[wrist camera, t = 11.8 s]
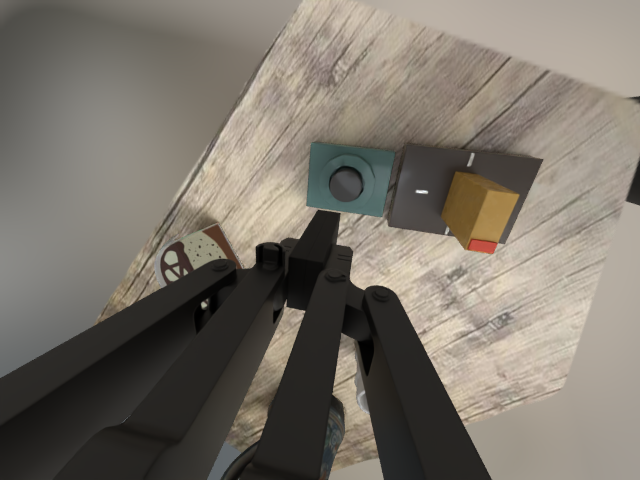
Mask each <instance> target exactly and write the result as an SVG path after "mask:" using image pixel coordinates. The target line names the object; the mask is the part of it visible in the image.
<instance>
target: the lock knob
mask: <svg viewBox="0 0 640 480" xmlns="http://www.w3.org/2000/svg"><path fill="white" fill-rule="evenodd" d="M519 195H520V194H518V193H516V192H514V191H512V190H510V189H508V188H505V187H503V186H501V185H499V184H497V183H495V182H493V181H491V180H489V179H487V178H484V177H482V176H480V175H478V174H472V173H465V172H457V171H456V172H455V174H454V177H453V181H452V184H451V187H450V190H449V193H448V196H447V199H446V202H445V205H444V208H443V211H442V214H441V218H442V219H443V221H444V222H445V223H446V225H447V226H448V228H449V229H450V230H451V232H452V233H453V234H454V236H455V237H456V238H457V240H458V241H459V242H460V244H461V245H462V246H463V248H464V249H465V250H469V251H476V252H482V253H488V254H493V253H494V251H495V249H496V246H497V244H498V242H499V239H500V237H501V235H502V233H503V231H504V228H505V226H506V224H507V222H508V220H509V217H510V215H511V213H512V211H513V208H514V206H515V204H516V202H517V200H518V197H519Z"/></svg>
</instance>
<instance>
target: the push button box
mask: <svg viewBox="0 0 640 480" xmlns="http://www.w3.org/2000/svg"><path fill="white" fill-rule="evenodd" d="M394 158H395V151H394V150H385V149H376V148H368V147H359V146H350V145H341V144H332V143H324V142H312V143H311V149H310V163H309V177H308V191H307V205H306V206H309V207H316V208H322V209H329V210H336V211H343V212H350V213H356V214H363V215H370V216H377V217H382V215H383V210H384V205H385V200H386V196H387V191H388V186H389V181H390V177H391V172H392V167H393V162H394ZM345 168H349V169H353V170H355V171H356V172H357V173H358V174H359V175H360V177H361V180H362V187H361V192H360V194H359V195H358V197H357V198H356V199H354V200H353V201H350V202H341V201H338V200H337V199H335V198H334V197H333V195H332V194H331V192H330V181H331V179H332V177H333V176H334V175H335V173H336V172H338V171H339V170H341V169H345Z"/></svg>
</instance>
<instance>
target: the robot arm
mask: <svg viewBox="0 0 640 480" xmlns="http://www.w3.org/2000/svg"><path fill="white" fill-rule="evenodd" d="M340 214H341V213H337V212H330V211H323V210H318V211H317V212H316V214H315V215H314V217H313V219H312V220H311V222H310V223H309V225H308V227H307V228H306V230H305V231H304V233H303V235H302V236H301V238H300V239H294V238H286V239H284V240H282V241H281V242H280V244H279V243H274V242H267V243H262V244H259V245H257V246H256V264H255V265H254V266H253V267H252V268H249V269H237V266H236V263H235V262H234V261H232V260H230V259H224V258H223V259H222V258H220V259H215V260H212V261H210V262H208V263H206V264H204V265H202V266H200V267H199V268H197V269H195V270H193V271H191V272H190V273H188V274H186V275H184V276H182V277H181V278H179V279H177V280H175V281H173V282H172V283H170V284H168V285H166V286H165V287H163V288H161V289H159V290H157V291H156V292H154V293H152V294H150V295H148V296H147V297H145V298H143V299H141V300H139V301H138V302H136V303H134V304H132V305H131V306H129V307H127V308H125V309H123V310H122V311H120V312H118V313H116V314H114V315H113V316H111V317H109V318H107V319H105V320H104V321H102V322H100V323H98V324H97V325H95V326H93V327H91V328H89V329H88V330H86V331H84V332H82V333H80V334H79V335H77V336H75V337H73V338H71V339H70V340H68V341H66V342H64V343H63V344H61V345H59V346H57V347H55V348H54V349H52V350H50V351H48V352H47V353H45V354H43V355H41V356H39V357H37V358H36V359H34V360H32V361H30V362H29V363H27V364H25V365H23V366H21V367H20V368H18V369H16V370H14V371H12V372H11V373H9V374H7V375H5V376H4V377H2V378H0V480H207V478H208V476H209V474H210V471H211V469H212V467H213V465H214V463H215V461H216V459H217V456H218V454H219V452H220V450H221V448H222V446H223V443H224V441H225V439H226V437H227V435H228V433H229V430H230V428H231V426H232V424H233V422H234V420H235V417H236V415H237V413H238V411H239V409H240V407H241V404H242V402H243V400H244V398H245V396H246V393H247V391H248V389H249V387H250V385H251V383H252V380H253V378H254V376H255V374H256V372H257V370H258V367H259V365H260V363H261V361H262V359H263V357H264V354H265V352H266V350H267V348H268V346H269V344H270V341H271V339H272V337H273V335H274V333H275V331H276V328H277V326H278V324H279V322H280V320H281V318H282V315H283V311H284V303H285V301H286V299H287V307H289V308H294V309H299V310H304V311H306V312H305V314H304V317H303V320H302V323H301V326H300V328H299V331H298V334H297V337H296V340H295V342H294V345H293V348H292V351H291V354H290V356H289V359H288V362H287V365H286V368H285V370H284V373H283V376H282V379H281V382H280V384H279V387H278V390H277V393H276V396H275V398H274V401H273V404H272V407H271V410H270V412H269V415H268V418H267V421H266V424H265V426H264V429H263V432H262V435H261V438H260V440H259V443H258V446H257V449H256V452H255V454H254V457H253V459H252V461H251V462H250V463H249V464H248V465H247V466H246V467H245V469H244V471H243V472H242V474H241V476H240V478H239V480H320V473H321V466H322V460H323V453H324V446H325V440H326V433H327V426H328V419H329V413H330V406H331V399H332V393H333V386H334V379H335V372H336V366H337V359H338V352H339V346H340V339H341V333H343V334H345V335H347V336H349V337H351V338H353V339H355V341H354V344H355V348H356V353H357V358H358V362H359V367H360V371H361V376H362V381H363V385H364V390H365V394H366V399H367V404H368V408H369V413H370V417H371V422H372V427H373V431H374V436H375V441H376V445H377V450H378V454H379V459H380V464H381V468H382V473H383V477H384V480H492V479H491V477H490V475H489V473H488V472H487V469H486V468H485V465H484V464H483V462H482V460H481V458H480V456H479V454H478V452H477V450H476V448H475V446H474V444H473V442H472V440H471V438H470V436H469V434H468V432H467V431H466V429H465V427H464V425H463V423H462V421H461V419H460V417H459V415H458V413H457V411H456V409H455V407H454V405H453V403H452V401H451V399H450V397H449V395H448V394H447V392H446V390H445V388H444V386H443V384H442V382H441V380H440V378H439V376H438V374H437V372H436V370H435V368H434V366H433V364H432V362H431V360H430V359H429V357H428V355H427V353H426V351H425V349H424V347H423V345H422V343H421V341H420V339H419V337H418V335H417V333H416V331H415V329H414V327H413V325H412V324H411V322H410V320H409V318H408V316H407V314H406V312H405V310H404V308H403V306H402V304H401V302H400V300H399V298H398V296H397V295H396V294H395V293H394V292H393V291H392V290H390V289H389V288H386V287H383V286H378V285H375V286H370V287H367V288H366V289H365V290H362V289H360V288H358V287H356V286H355V285H354V284H353V283H352V282H351V281H350V270H351V263H352V256H353V251H352V249H351V248H350V247H347V246H341V245H336V243H337V236H338V229H339V221H340ZM205 300H208V305H207V306H206V307H204V308H202V306H201V303H203V302H204V301H205ZM128 416H129V417H128ZM127 417H128V418H127ZM126 418H127V419H126ZM125 419H126V420H125ZM124 420H125V422H123V421H124ZM122 422H123V423H122Z"/></svg>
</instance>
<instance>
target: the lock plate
mask: <svg viewBox="0 0 640 480" xmlns="http://www.w3.org/2000/svg"><path fill="white" fill-rule="evenodd" d="M542 162H543V159H540V158H535V157H530V156H521V155H512V154H503V153H494V152H485V151H476V150H467V149H457V148H448V147H439V146H430V145H421V144H412V143H404V147H403V152H402V156H401V161H400V165H399V170H398V174H397V179H396V183H395V188H394V192H393V197H392V201H391V206H390V210H389V215H388V219H387V220H388V226H389V227H395V228H402V229H408V230H415V231H421V232H428V233H435V234H441V235H448V236H454V234H453V233H452V232H451V230H450V229H449V228H448V226H447V225H446V223H445V222H444V221H443V219H442V218H441V214H442V211H443V208H444V205H445V202H446V199H447V196H448V193H449V190H450V187H451V184H452V181H453V177H454V174H455V172H456V171H457V172H465V173H472V174H478V175H480V176H482V177H484V178H487V179H489V180H491V181H493V182H495V183H497V184H499V185H501V186H503V187H505V188H508V189H510V190H512V191H514V192H516V193H518V194H520V195H519V197H518V200H517V202H516V204H515V206H514V208H513V211H512V213H511V215H510V217H509V220H508V222H507V224H506V226H505V228H504V231H503V233H502V235H501V237H500V239H499V242H498V243H501V244H505V243H506V240H507V238H508V236H509V234H510V232H511V230H512V227H513V225H514V223H515V221H516V219H517V216H518V214H519V212H520V210H521V208H522V205H523V203H524V201H525V199H526V197H527V194H528V192H529V190H530V188H531V186H532V184H533V181H534V179H535V177H536V175H537V173H538V170H539V168H540V166H541V164H542ZM454 237H455V236H454Z"/></svg>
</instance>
